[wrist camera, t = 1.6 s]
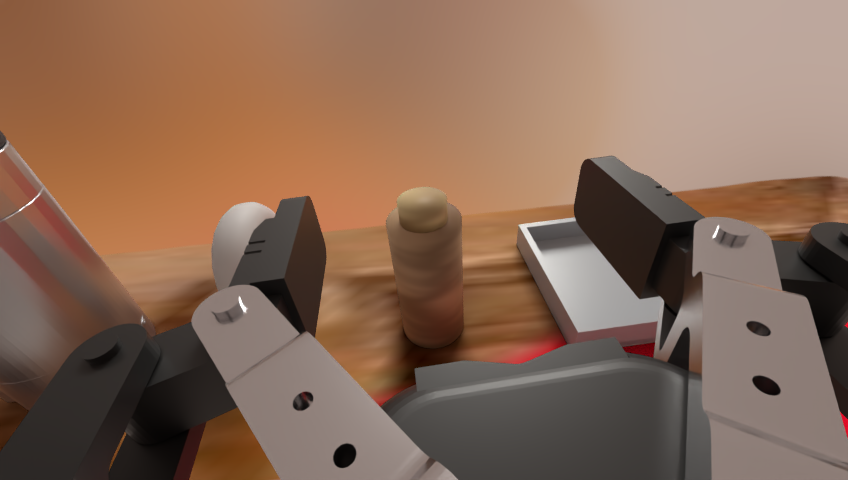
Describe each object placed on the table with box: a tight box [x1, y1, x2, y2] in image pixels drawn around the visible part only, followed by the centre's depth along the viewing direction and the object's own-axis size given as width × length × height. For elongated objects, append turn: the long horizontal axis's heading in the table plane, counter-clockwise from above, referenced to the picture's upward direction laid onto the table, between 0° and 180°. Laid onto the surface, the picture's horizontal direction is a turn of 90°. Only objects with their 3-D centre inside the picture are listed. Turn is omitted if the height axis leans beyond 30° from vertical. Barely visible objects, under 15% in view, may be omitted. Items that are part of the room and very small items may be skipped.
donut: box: [212, 202, 275, 291], centre depth 31 cm, size 10×3×10 cm, turn 4°
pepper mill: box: [386, 187, 464, 349], centre depth 27 cm, size 5×5×12 cm
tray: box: [517, 218, 663, 347], centre depth 32 cm, size 14×13×2 cm
